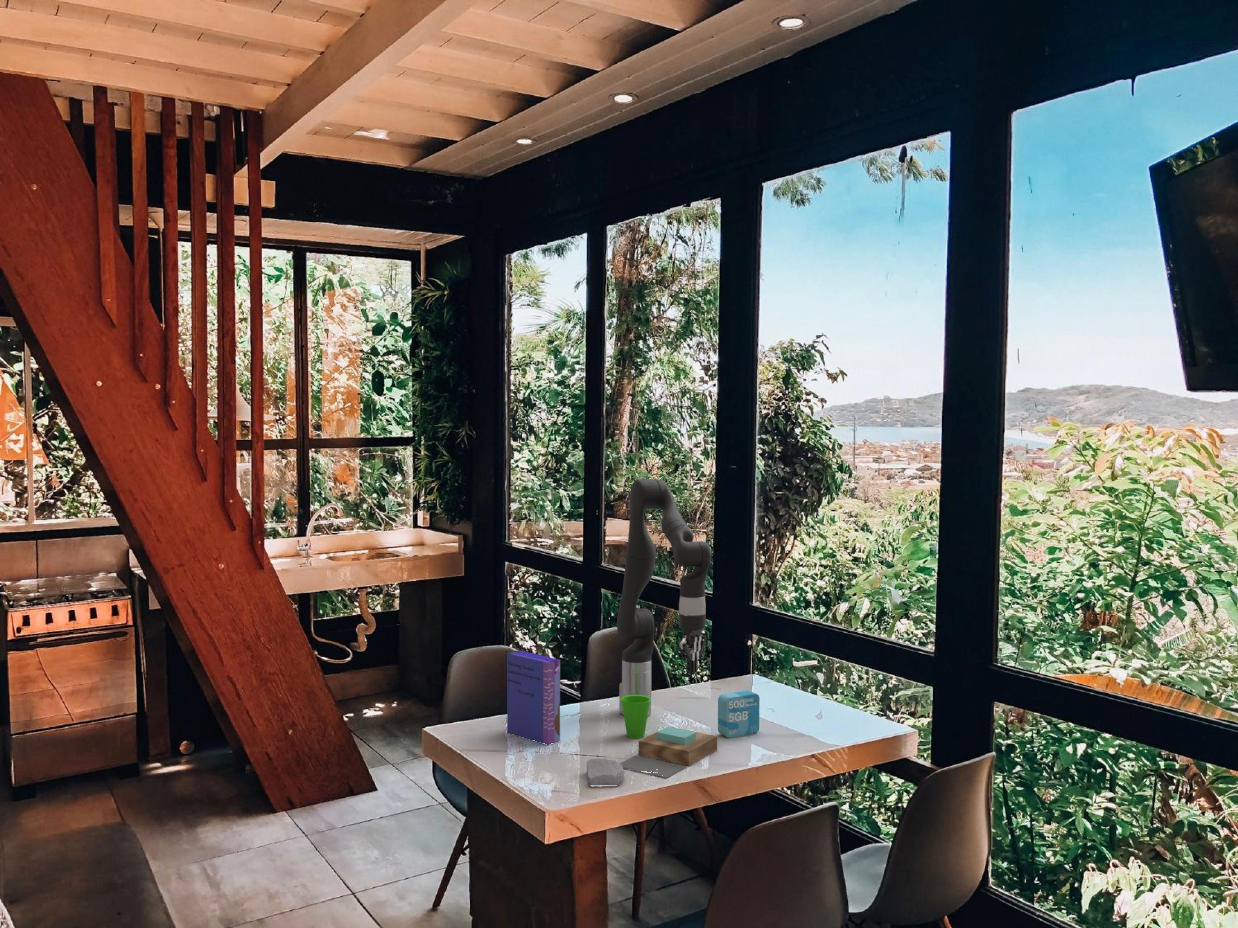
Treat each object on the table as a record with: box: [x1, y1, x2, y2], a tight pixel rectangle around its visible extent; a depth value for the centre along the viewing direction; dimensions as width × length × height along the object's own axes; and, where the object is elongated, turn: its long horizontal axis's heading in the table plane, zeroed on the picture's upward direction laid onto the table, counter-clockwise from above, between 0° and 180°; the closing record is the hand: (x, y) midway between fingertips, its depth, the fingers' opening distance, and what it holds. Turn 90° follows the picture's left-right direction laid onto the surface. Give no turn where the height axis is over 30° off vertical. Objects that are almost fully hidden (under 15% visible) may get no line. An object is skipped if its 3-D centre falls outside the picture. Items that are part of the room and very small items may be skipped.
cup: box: [620, 695, 652, 739], centre depth 290 cm, size 9×9×11 cm
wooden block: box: [637, 726, 718, 767], centre depth 275 cm, size 16×16×4 cm
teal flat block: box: [656, 726, 697, 745], centre depth 274 cm, size 9×6×2 cm, turn 56°
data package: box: [717, 690, 761, 739], centre depth 293 cm, size 12×4×12 cm, turn 118°
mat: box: [619, 755, 687, 779], centre depth 263 cm, size 16×10×1 cm, turn 56°
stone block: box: [586, 757, 626, 786], centre depth 254 cm, size 12×5×10 cm
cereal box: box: [506, 650, 561, 746], centre depth 288 cm, size 17×5×24 cm, turn 48°
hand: (691, 672), depth 281 cm, fingers closed
